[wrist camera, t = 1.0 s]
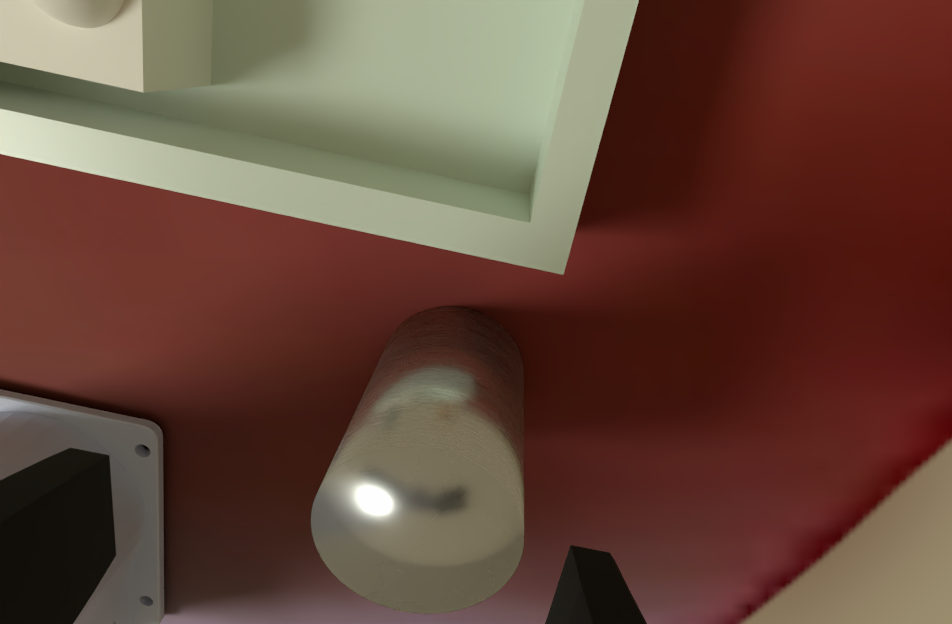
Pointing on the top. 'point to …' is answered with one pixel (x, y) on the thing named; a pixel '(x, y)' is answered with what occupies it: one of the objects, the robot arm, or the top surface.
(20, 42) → the egg carton
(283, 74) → the tote
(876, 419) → the top surface
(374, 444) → the tin can
